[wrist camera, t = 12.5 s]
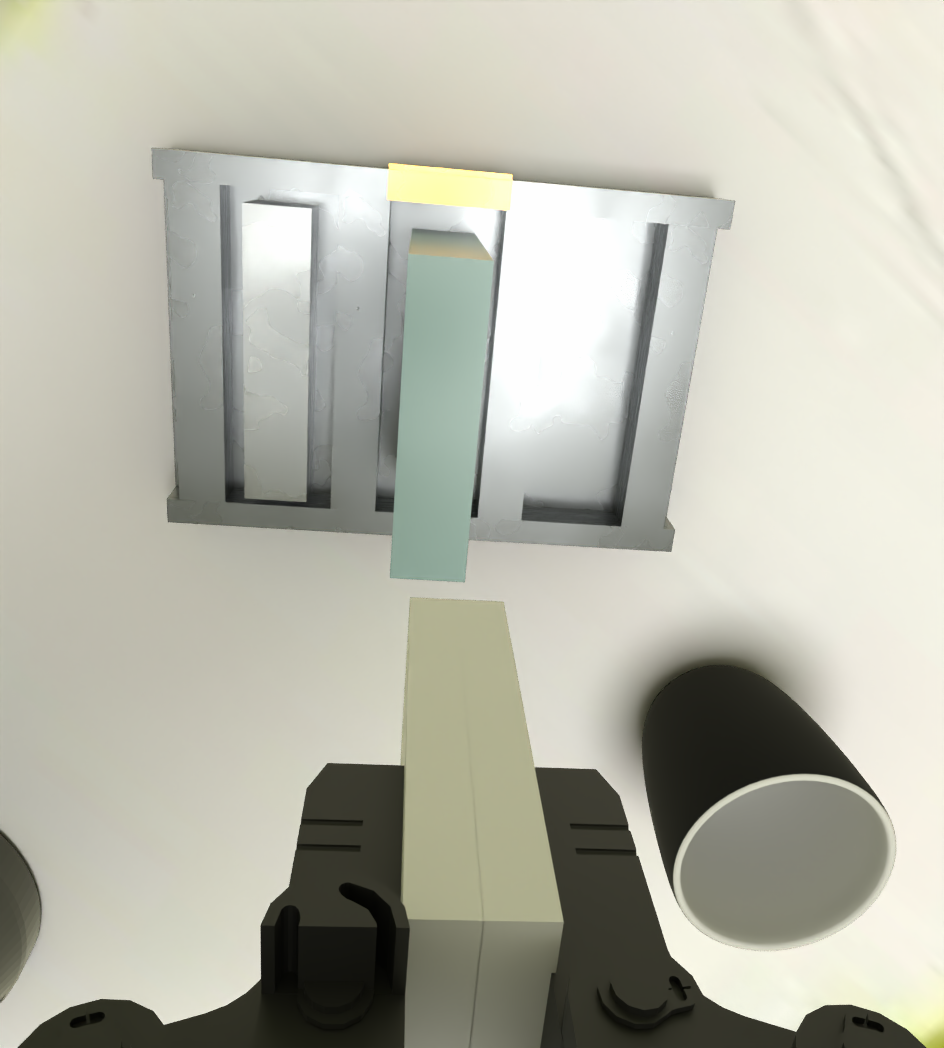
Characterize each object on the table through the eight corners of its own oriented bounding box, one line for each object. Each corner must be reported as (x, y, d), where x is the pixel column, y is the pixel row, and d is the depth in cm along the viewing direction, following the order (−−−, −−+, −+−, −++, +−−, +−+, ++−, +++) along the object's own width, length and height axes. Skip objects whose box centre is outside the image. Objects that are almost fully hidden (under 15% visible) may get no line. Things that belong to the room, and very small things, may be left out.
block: (398, 475, 38) (390, 578, 29) (412, 228, 34) (408, 253, 25) (454, 479, 38) (464, 582, 29) (474, 233, 34) (494, 260, 25)
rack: (182, 497, 39) (160, 528, 36) (169, 142, 34) (142, 141, 30) (657, 526, 41) (677, 558, 37) (716, 192, 35) (745, 196, 32)
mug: (582, 727, 44) (624, 879, 35) (716, 605, 42) (800, 732, 33) (740, 850, 48) (817, 1019, 39) (872, 743, 46) (987, 894, 36)
